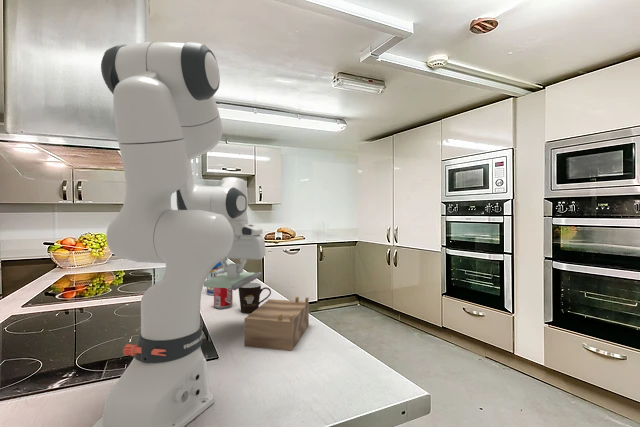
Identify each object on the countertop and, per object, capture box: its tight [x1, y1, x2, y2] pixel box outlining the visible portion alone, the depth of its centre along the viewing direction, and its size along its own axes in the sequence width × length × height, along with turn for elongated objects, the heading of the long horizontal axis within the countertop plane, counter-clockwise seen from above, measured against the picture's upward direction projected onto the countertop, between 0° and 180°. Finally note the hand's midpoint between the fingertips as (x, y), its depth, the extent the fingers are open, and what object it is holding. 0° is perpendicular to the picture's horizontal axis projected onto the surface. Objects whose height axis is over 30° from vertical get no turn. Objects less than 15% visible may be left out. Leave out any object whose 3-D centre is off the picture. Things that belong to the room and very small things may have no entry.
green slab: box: [203, 263, 264, 291], centre depth 105 cm, size 20×12×6 cm, turn 169°
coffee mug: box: [237, 281, 272, 315], centre depth 125 cm, size 12×9×10 cm
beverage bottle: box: [206, 262, 226, 296], centre depth 151 cm, size 8×8×20 cm
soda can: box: [213, 273, 234, 310], centre depth 131 cm, size 7×7×13 cm
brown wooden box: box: [244, 296, 310, 352], centre depth 102 cm, size 20×14×10 cm
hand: (233, 272), depth 105 cm, fingers closed on green slab, 3 cm apart
